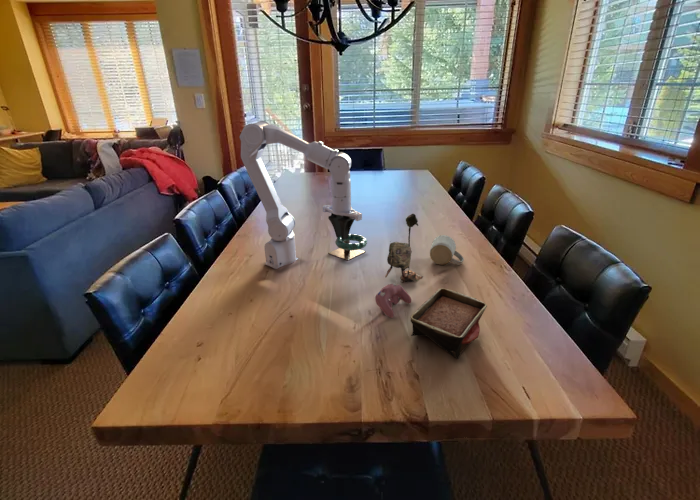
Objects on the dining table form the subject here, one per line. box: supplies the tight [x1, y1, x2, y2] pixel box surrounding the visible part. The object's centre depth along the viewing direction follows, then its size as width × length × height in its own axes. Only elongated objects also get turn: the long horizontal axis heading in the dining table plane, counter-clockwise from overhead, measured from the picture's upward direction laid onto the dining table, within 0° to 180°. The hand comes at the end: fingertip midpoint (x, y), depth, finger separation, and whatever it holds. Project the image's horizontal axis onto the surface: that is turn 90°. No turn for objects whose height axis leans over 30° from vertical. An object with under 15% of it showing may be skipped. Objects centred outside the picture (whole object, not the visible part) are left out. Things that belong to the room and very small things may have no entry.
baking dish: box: [410, 287, 488, 360], centre depth 84 cm, size 14×18×10 cm
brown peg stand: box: [328, 240, 366, 261], centre depth 126 cm, size 9×9×6 cm
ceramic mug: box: [429, 234, 465, 266], centre depth 120 cm, size 11×8×8 cm
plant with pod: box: [385, 212, 424, 284], centre depth 106 cm, size 8×11×20 cm
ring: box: [334, 233, 368, 250], centre depth 115 cm, size 10×10×2 cm
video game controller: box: [374, 282, 413, 319], centre depth 96 cm, size 10×5×7 cm, turn 141°
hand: (342, 237), depth 117 cm, fingers closed on ring, 2 cm apart
